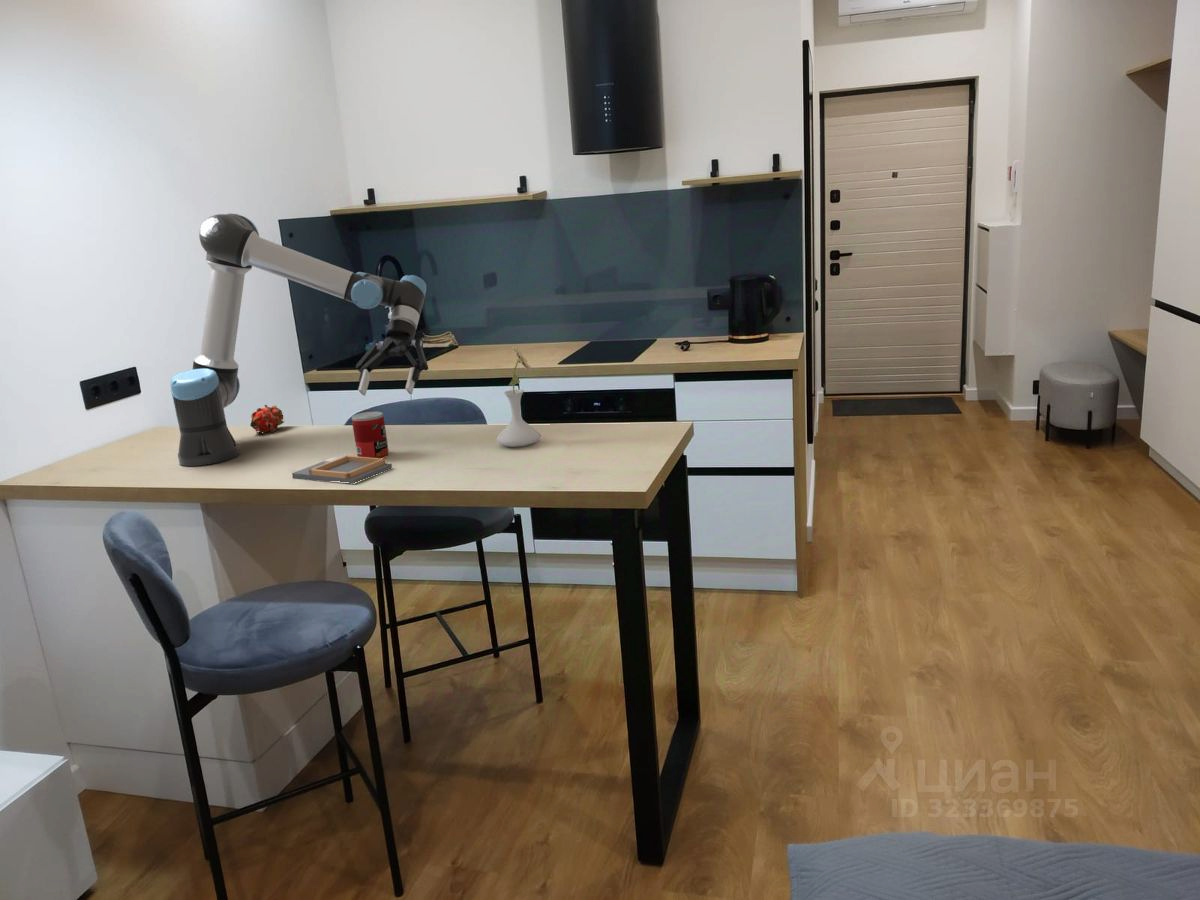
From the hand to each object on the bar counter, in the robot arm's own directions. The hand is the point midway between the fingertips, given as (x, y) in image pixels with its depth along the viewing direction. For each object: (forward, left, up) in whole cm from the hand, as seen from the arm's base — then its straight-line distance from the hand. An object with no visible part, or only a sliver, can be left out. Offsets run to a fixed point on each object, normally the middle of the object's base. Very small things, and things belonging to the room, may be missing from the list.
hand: (385, 392), depth 243 cm
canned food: (+3, -10, -15) cm, 18 cm away
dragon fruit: (-52, +4, -15) cm, 55 cm away
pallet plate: (+6, -24, -14) cm, 29 cm away
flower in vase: (+35, +10, -15) cm, 39 cm away
